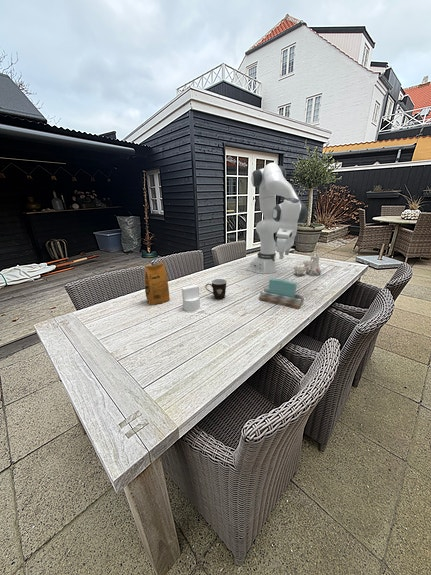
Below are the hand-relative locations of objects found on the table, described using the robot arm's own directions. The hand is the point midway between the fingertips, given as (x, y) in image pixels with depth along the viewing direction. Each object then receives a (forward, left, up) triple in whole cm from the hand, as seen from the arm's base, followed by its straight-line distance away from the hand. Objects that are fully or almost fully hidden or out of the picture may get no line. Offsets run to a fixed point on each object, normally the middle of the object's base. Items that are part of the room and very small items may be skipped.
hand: (284, 256), depth 124 cm
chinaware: (+6, +50, -24) cm, 55 cm away
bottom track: (+2, -7, -24) cm, 24 cm away
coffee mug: (-32, -20, -24) cm, 44 cm away
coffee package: (-59, -41, -24) cm, 75 cm away
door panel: (+2, -7, -22) cm, 23 cm away
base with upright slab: (-37, -38, -24) cm, 58 cm away
